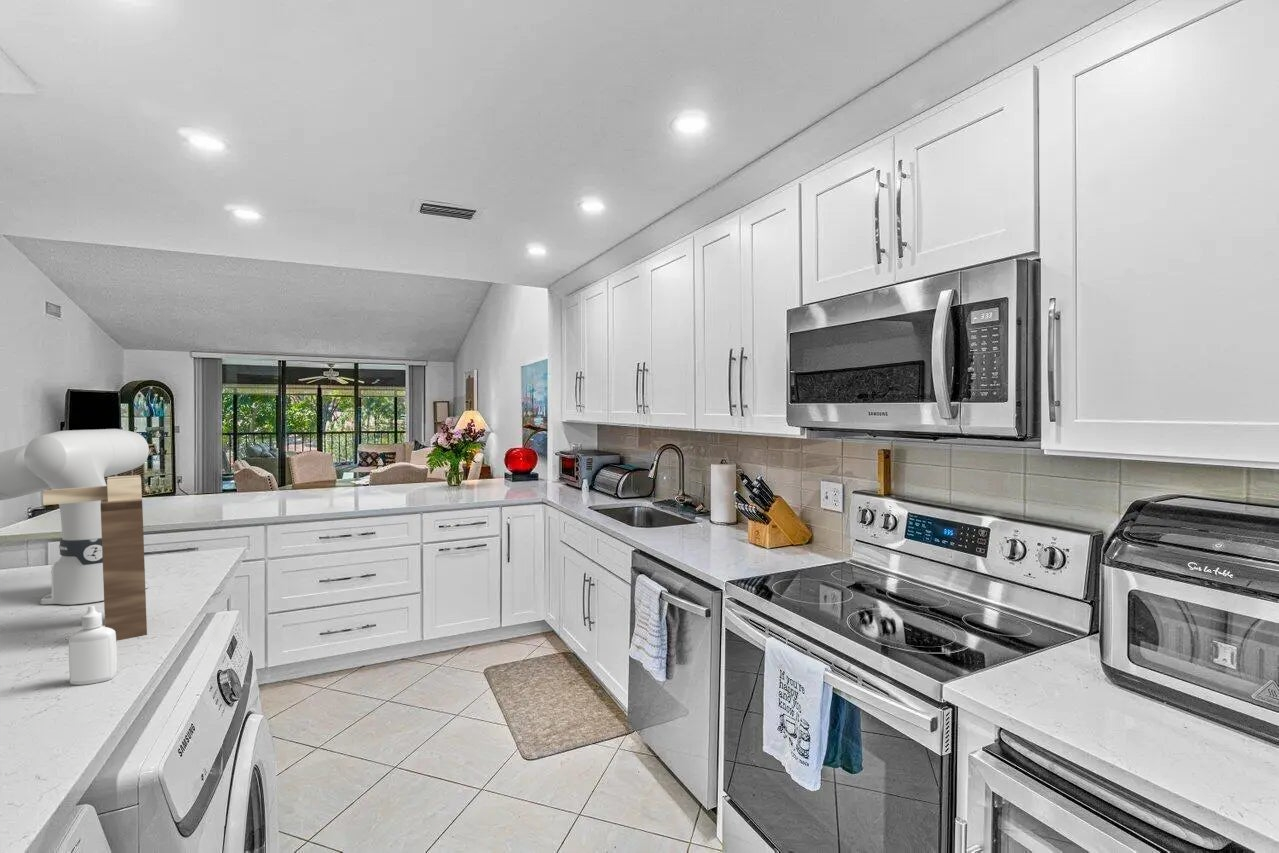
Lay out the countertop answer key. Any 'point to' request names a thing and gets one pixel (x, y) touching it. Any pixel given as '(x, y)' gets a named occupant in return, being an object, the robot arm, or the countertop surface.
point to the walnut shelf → (124, 567)
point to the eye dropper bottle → (92, 651)
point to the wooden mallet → (97, 492)
